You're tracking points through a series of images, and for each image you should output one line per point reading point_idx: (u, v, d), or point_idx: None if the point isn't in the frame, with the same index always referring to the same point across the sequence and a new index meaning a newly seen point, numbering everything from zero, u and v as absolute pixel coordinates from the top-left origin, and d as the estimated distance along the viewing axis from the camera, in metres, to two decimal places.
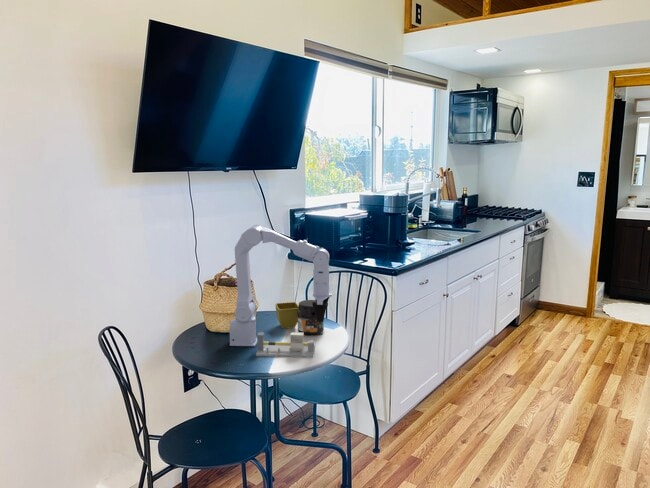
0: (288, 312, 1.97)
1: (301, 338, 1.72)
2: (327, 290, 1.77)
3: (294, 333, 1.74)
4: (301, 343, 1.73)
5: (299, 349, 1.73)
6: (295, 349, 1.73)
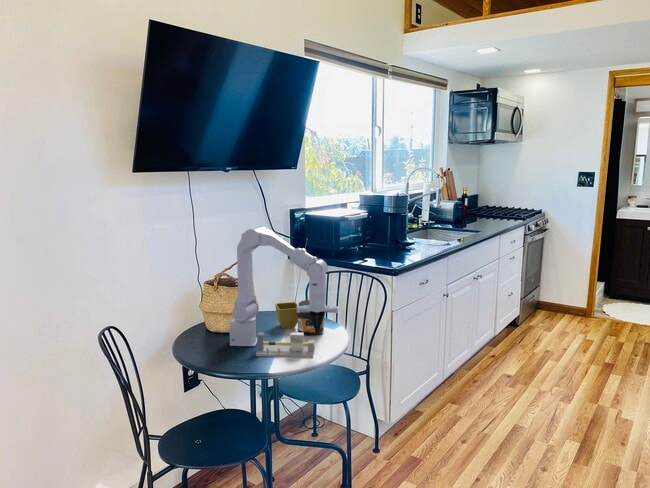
0: (288, 312, 1.97)
1: (301, 338, 1.72)
2: (312, 304, 1.69)
3: (294, 333, 1.74)
4: (301, 343, 1.73)
5: (299, 349, 1.73)
6: (295, 349, 1.73)
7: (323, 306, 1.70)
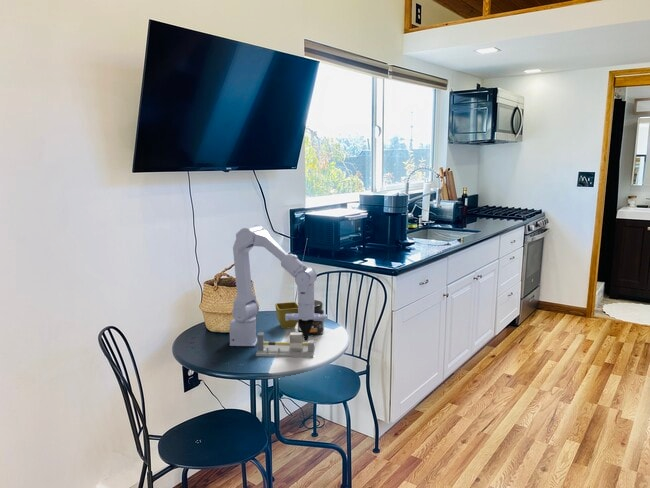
0: (288, 312, 1.97)
1: (300, 338, 1.72)
2: (301, 312, 1.70)
3: (293, 333, 1.74)
4: (300, 343, 1.73)
5: (298, 349, 1.73)
6: (294, 349, 1.73)
7: (311, 314, 1.70)
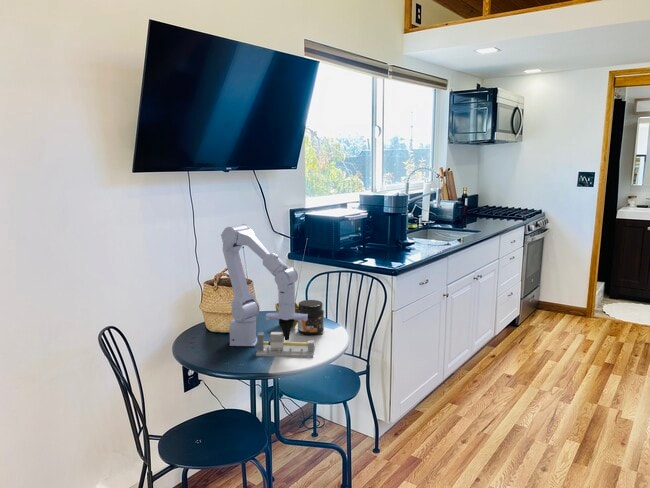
0: None
1: (281, 338, 1.73)
2: (281, 311, 1.70)
3: (274, 333, 1.74)
4: (281, 343, 1.73)
5: None
6: (275, 349, 1.74)
7: (292, 314, 1.71)
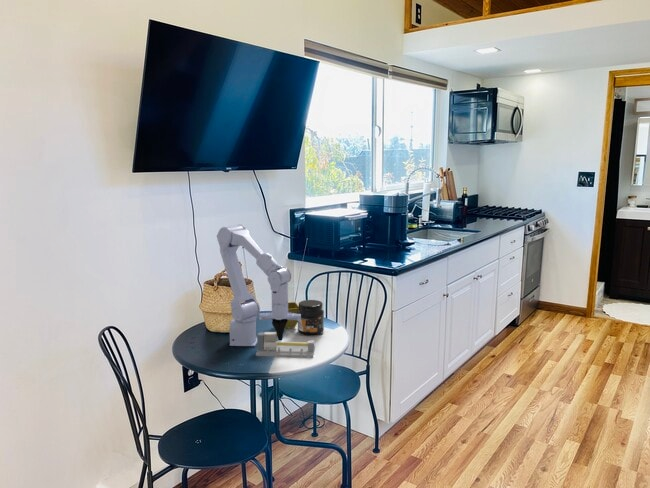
0: (288, 312, 1.97)
1: (274, 337, 1.73)
2: (274, 311, 1.70)
3: (267, 332, 1.75)
4: (274, 342, 1.73)
5: (272, 348, 1.74)
6: None
7: (285, 314, 1.71)
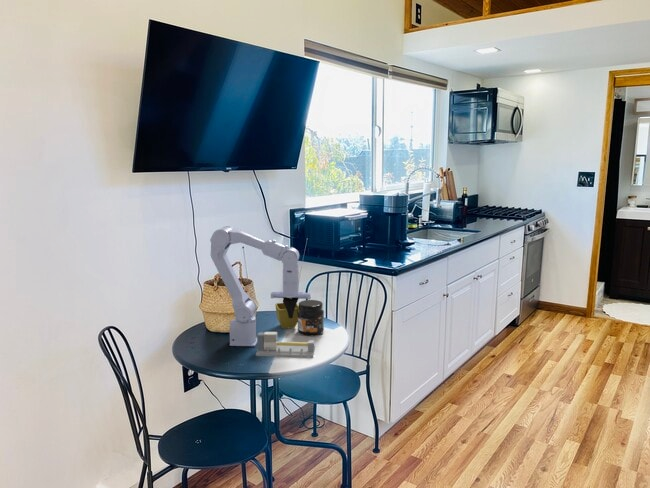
0: None
1: (274, 337, 1.73)
2: (285, 290, 1.77)
3: (267, 332, 1.75)
4: (274, 342, 1.73)
5: (272, 348, 1.74)
6: None
7: (296, 292, 1.77)
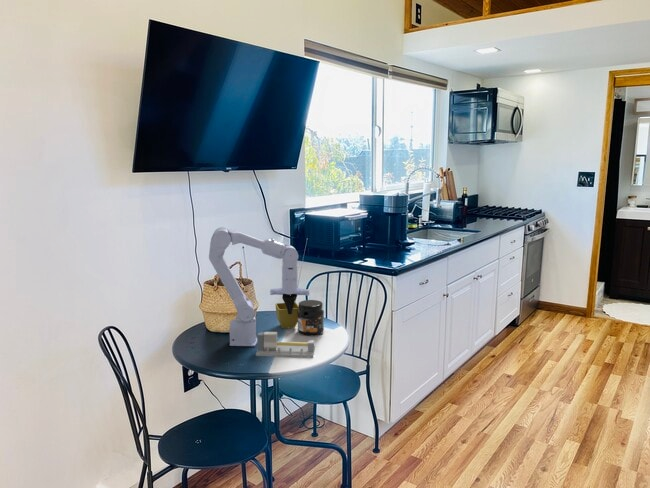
0: None
1: (274, 337, 1.73)
2: (285, 286, 1.81)
3: (267, 332, 1.75)
4: (274, 342, 1.73)
5: (272, 348, 1.74)
6: None
7: (295, 289, 1.82)
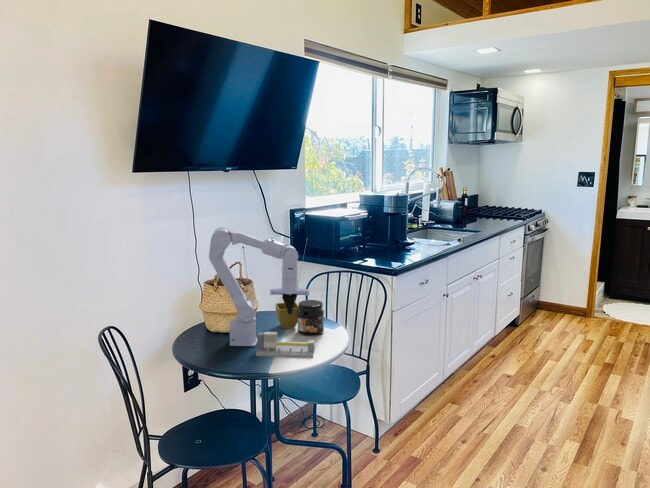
0: None
1: (274, 337, 1.73)
2: (285, 286, 1.81)
3: (267, 332, 1.75)
4: (274, 342, 1.73)
5: (272, 348, 1.74)
6: None
7: (295, 289, 1.82)
